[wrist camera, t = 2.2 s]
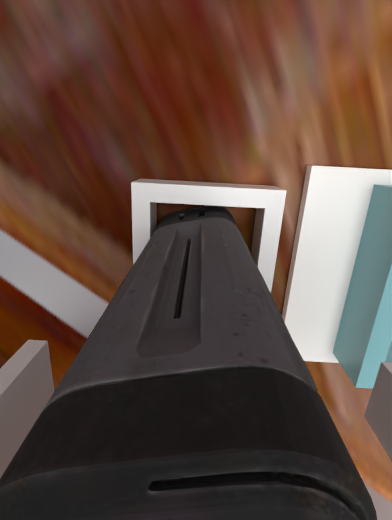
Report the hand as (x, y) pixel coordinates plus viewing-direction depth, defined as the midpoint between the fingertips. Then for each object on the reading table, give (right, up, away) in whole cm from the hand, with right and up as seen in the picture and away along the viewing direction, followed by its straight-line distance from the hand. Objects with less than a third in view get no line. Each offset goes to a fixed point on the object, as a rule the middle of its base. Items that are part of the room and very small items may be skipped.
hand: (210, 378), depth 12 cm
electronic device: (0, +5, +12) cm, 13 cm away
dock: (+17, +4, +12) cm, 21 cm away
